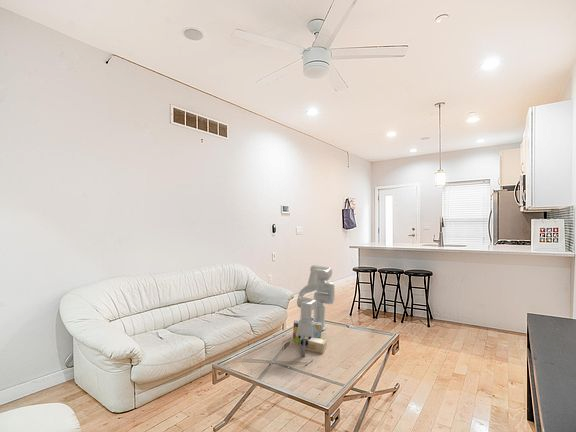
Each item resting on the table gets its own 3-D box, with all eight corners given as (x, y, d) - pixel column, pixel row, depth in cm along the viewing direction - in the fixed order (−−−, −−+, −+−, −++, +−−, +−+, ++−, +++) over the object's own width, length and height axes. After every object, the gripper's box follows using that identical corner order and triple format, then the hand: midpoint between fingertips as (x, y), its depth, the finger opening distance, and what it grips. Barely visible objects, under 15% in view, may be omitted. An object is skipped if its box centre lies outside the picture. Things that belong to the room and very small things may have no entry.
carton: (305, 343, 238) (306, 335, 238) (326, 348, 232) (326, 340, 232) (302, 348, 231) (302, 339, 231) (323, 353, 225) (323, 344, 224)
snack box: (320, 341, 244) (321, 322, 243) (320, 344, 238) (321, 325, 238) (293, 338, 246) (294, 319, 246) (292, 342, 241) (293, 322, 240)
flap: (300, 348, 230) (300, 332, 230) (303, 348, 230) (304, 332, 230) (302, 356, 218) (303, 339, 217) (306, 356, 218) (306, 339, 218)
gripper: (317, 318, 221) (315, 344, 222) (294, 316, 223) (292, 342, 223) (317, 322, 214) (315, 348, 215) (293, 320, 215) (292, 346, 216)
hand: (304, 345), depth 219 cm, fingers closed on flap, 2 cm apart
